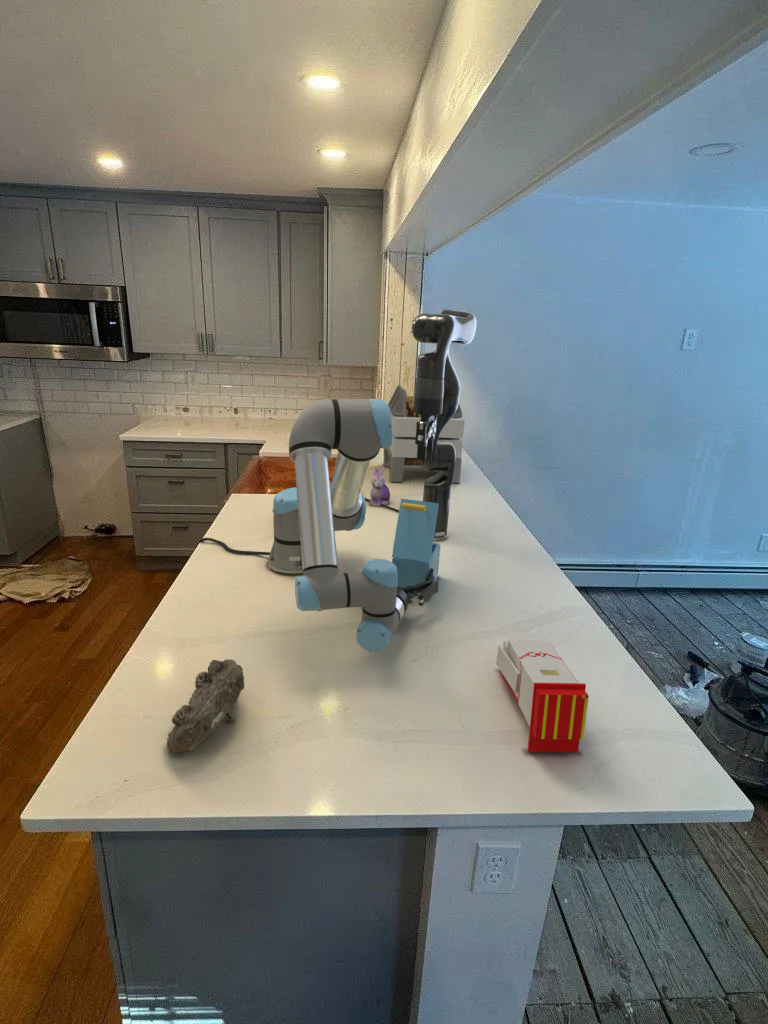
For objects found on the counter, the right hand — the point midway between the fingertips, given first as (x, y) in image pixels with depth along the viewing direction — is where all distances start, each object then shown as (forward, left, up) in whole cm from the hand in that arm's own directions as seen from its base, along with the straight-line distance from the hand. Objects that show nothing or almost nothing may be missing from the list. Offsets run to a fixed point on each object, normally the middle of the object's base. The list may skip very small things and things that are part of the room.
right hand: (424, 456), depth 152 cm
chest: (+1, -2, -38) cm, 38 cm away
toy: (+48, -31, -38) cm, 68 cm away
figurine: (-49, +50, -38) cm, 80 cm away
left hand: (+2, -6, -31) cm, 31 cm away
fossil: (0, -73, -38) cm, 82 cm away
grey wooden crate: (-61, +100, -38) cm, 123 cm away
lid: (+2, -5, -19) cm, 20 cm away
